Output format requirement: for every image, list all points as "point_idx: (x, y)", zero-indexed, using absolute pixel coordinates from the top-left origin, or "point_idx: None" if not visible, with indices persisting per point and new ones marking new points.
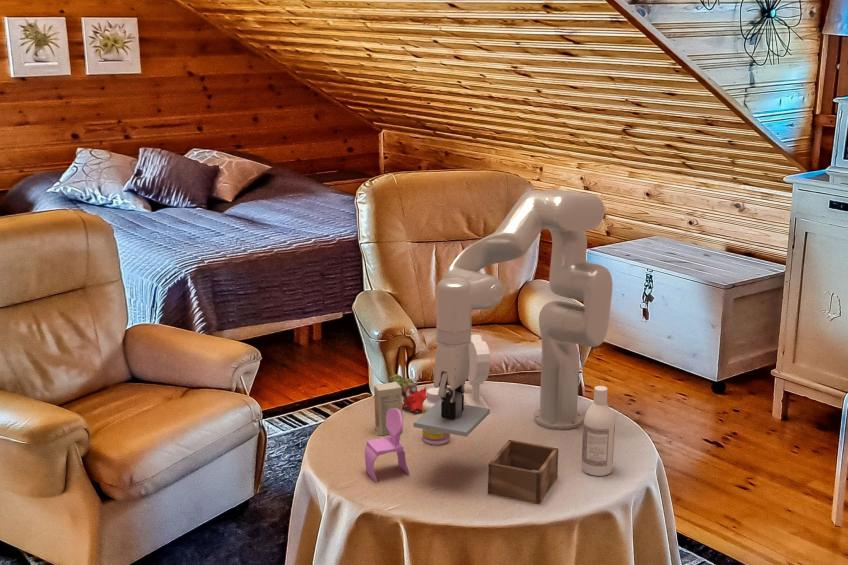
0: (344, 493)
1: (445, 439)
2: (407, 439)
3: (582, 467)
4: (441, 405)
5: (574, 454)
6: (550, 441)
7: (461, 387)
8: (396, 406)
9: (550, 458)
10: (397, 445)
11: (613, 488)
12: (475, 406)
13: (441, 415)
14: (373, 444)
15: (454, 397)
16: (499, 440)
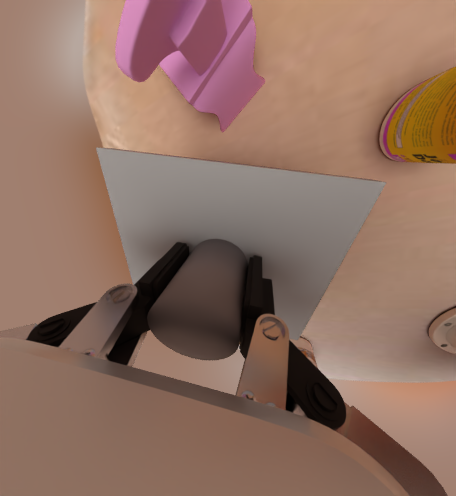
0: (99, 5)
1: (392, 157)
2: (437, 21)
3: (290, 339)
4: (154, 265)
5: (335, 333)
6: (381, 314)
7: (237, 389)
8: None
9: (239, 343)
10: (187, 76)
11: None
12: (312, 312)
13: (176, 243)
14: None
15: (140, 346)
16: (394, 254)
